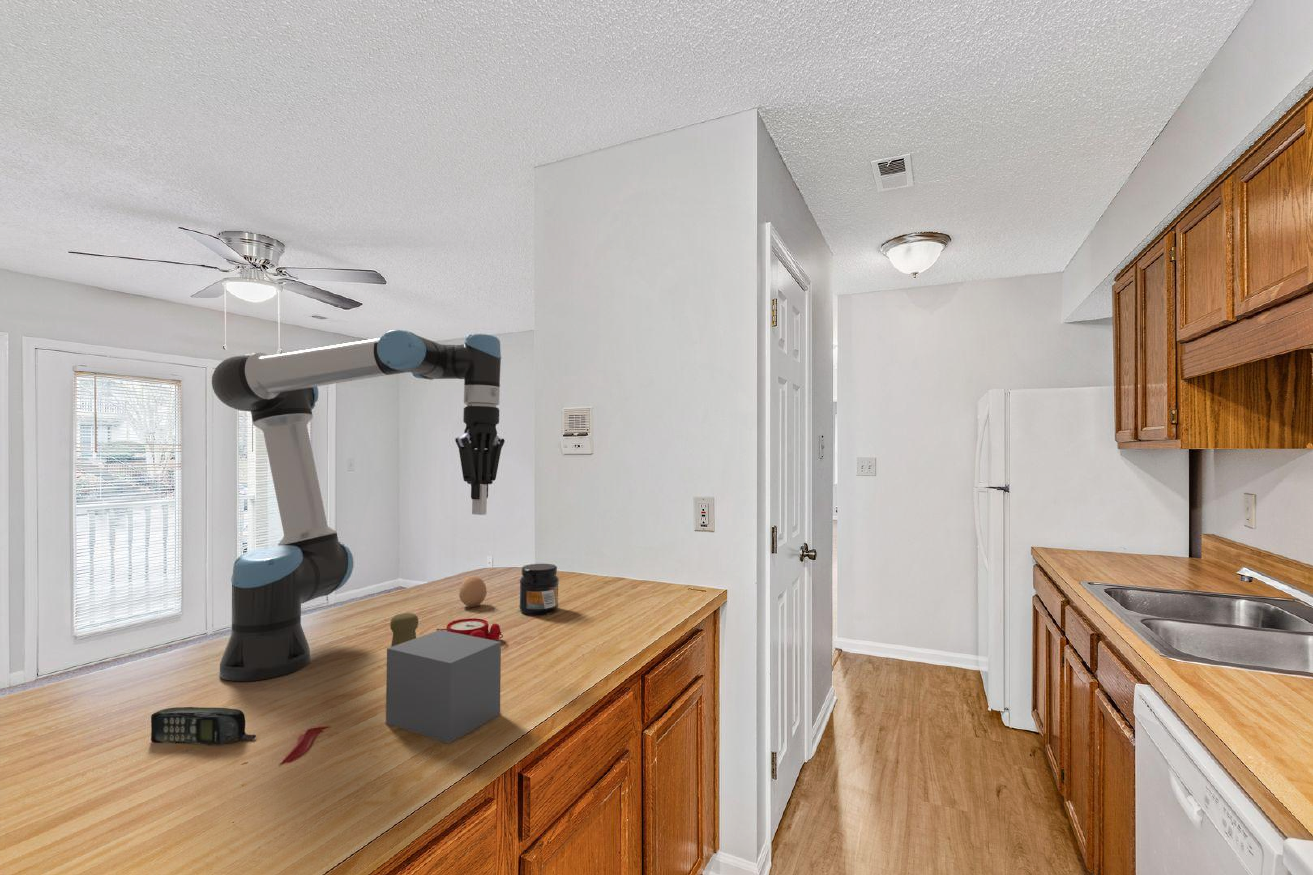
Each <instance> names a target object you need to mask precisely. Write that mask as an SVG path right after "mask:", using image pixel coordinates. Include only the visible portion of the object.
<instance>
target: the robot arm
mask: <svg viewBox="0 0 1313 875" xmlns="http://www.w3.org/2000/svg"><path fill="white" fill-rule="evenodd" d="M464 340H465V341H464V344H442V343H438V342H435V341H433V340H430V339H427V338H425V337H422V336H419V335H417V334H415V333H414V332H412V331H407V330H401V329H392V330H389V331H387V332H385V333H384V334H382V336H381V337H378V338H377V337H376V338H372V339H367V340H361V341H354V342H347V343H342V344H336V345H335V344H334V345H329V346H324V347H317V348H316V347H315V348H309V349H305V350H298V351H297V350H296V351H291V352H286V353H280V354H279V353H278V354H273V355H269V354H267V353H265V352H254V353H247V354H241V355H233V356H230V357H229V358H226V359H224V360H223V361H220V363H219V364H218V365H217V366H216V367H215V368H214V371H213V373H212V376H211V387H212V389H213V390H212V391H213V393H214V394H215V396H216V397H217V398H218V400H219V401H220V402H222V403H223V404H224V405H226V406H227V407H230V408H231V409H234V410H237V411H242V412H250V415H251V419H252V424H253V426H254V427H256V428H258V429H260V430H261V431H262V433H263V439H264V441H265V443H264V444H265V446H266V453H267V457H268V461H269V462H268V463H269V466H270V468H269V469H270V472H271V477H272V482H273V487H274V492H275V497H276V502H277V506H278V511H279V517H280V520H281V525H282V526H281V527H282V531H283V537H282V538H281V539H280V541H279V542H278V543H277V545H271V546H268V547H262V548H257V549H254V550H251V551H250V550H249V551H248V552H245V553H243V554H241V555H239V556H238V557H237V558H236V559H235V561H234V563H233V568H232V575H231V585H232V586H231V635H230V637H229V640H228V642H227V644H226V647H225V650H224V652H223V655H222V657H221V660H220V663H219V677H220V678H221V679H222V680H226V681H230V682H251V681H252V682H253V681H254V682H255V681H261V680H266V679H272V678H276V677H280V676H284V675H287V674H291V673H294V672H295V671H298V670H300V669H302V668H304V667H305V666H307V665H308V664H309V663H310V661H311V649H310V646H309V643H308V639H307V638H306V634H305V631H304V630H303V626H302V618H301V617H302V604H305V603H307V602H310V601H313V600H315V599H318V598H320V597H321V598H322V597H324V596H325V597H326V596H328V595H331V594H332V593H334V592H336V591H337V590H339V589H340V588H342V587H343V586H344V585H345V584H347V582H348V581H349V579H350V578H351V576H352V573H353V569H354V556H353V553H352V551H351V550H350V548H349V547H348V546H345V544H344V543H343V542H340V541H339V537H338V532H337V531H336V530H335V529H333V528H331V527H330V526H329V525H328V521H327V517H326V513H325V512H326V511H325V507H324V502H323V498H322V492H321V488H320V483H319V478H318V473H317V468H316V463H315V459H314V452H313V448H312V443H311V438H310V434H309V429H308V424H309V423H310V421H311V420H312V419H313V417H314V415H313V412H312V410H313V409H315V407H316V403H317V402H318V400H319V388H318V387H320V386H321V387H322V386H327V385H333V384H341V383H345V382H346V383H347V382H352V381H359V380H364V379H373V378H377V377H383V376H391V375H398V374H405V373H411V374H412V376H413V377H414V378H417V379H422V380H423V379H424V380H430V381H432V380H449V379H450V380H451V379H452V380H457V379H458V380H464V381H463V382H464V385H463V387H464V388H463V404H464V405H465V406H464V407H463V419H462V421H463V423H464V424H465V429H464V432H463V433H464V434H462V435H461V436H456V437H455V438H454V440H455V443H456V445H457V448H458V452H459V458H460V459H459V460H460V464H461V466H460V467H461V472H462V480H463V481H464V482H466V483H467V484H468V485H470V497H471V500H472V501H471V504H472V505H471V515H477V516H484V515H487V502H488V501H487V500H488V497H489V485H492V484H493V482H494V481H495V480H496V479H497V474H498V468H499V463H500V458H501V453H502V449H503V447H504V444H505V439H504V438H500V437H499V436H498V431H497V428H496V426H497V425H498V424H500V409H499V407H498V406H499V405H500V394H501V393H500V391H501V390H500V387H501V384H500V381H501V366H502V365H501V362H502V361H501V360H502V354H501V352H502V351H501V340H500V339H499V338H498V337H497V336H494V335H490V334H485V333H484V334H483V333H473V334H467V335H466V337H465V339H464Z"/></svg>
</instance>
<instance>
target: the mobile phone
mask: <svg viewBox="0 0 1313 875" xmlns="http://www.w3.org/2000/svg"><path fill="white" fill-rule="evenodd" d="M150 725H151V726H150V728H151V729H150V731H151V732H150V741H151V743H154V744H185V745H186V744H189V745H190V744H191V745H202V746H203V745H204V746H218V745H224V744H229V743H233V742H236V741H238V740H241V741H242V740H244V741H245V740H255V739H256V738H257V735H256V734H248V733H246V731H245V730H246V715H245V713H244V712H243V711H242V710H241V709H239V708H237V709H236V708H229V707H197V706H196V707H195V706H187V707H186V706H185V707H168V708H163V709H161V710H158V711H156V712H153V713H152V714H151V715H150Z"/></svg>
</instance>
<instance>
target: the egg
mask: <svg viewBox="0 0 1313 875" xmlns="http://www.w3.org/2000/svg"><path fill="white" fill-rule="evenodd" d="M487 592H488V591H487V586H486V583H485V582H484V580H483V579H482V578H481V577H480V576H478V575H470V576H468V577H466V578H465V579H464V580H463V581H462V583H461V585H460V587H459V591H458V596H459V600H460V601H461V602H462V603H463V604H464V605H465V606H467V607H471V608H474V607H477V606H479V605H481V604H482V603H483V601H485V599H486V597H487Z"/></svg>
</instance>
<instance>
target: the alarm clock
mask: <svg viewBox="0 0 1313 875" xmlns="http://www.w3.org/2000/svg"><path fill="white" fill-rule="evenodd" d="M438 630H444V631H449V632H454V633H459V634H464V635H469V636H474V637H479V638H484V639H489V640H494V641H499V640H500V639H501V638H503V637H504V634H502V632H501V626H500V625H499V624H498V623H492V625H491V626H490V627H489V621H487V620H486V619H482V618H463V619H462V618H461V619H457V620H453V621H450V622H448V624H447V625H446V627H445V628H436V631H438Z"/></svg>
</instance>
